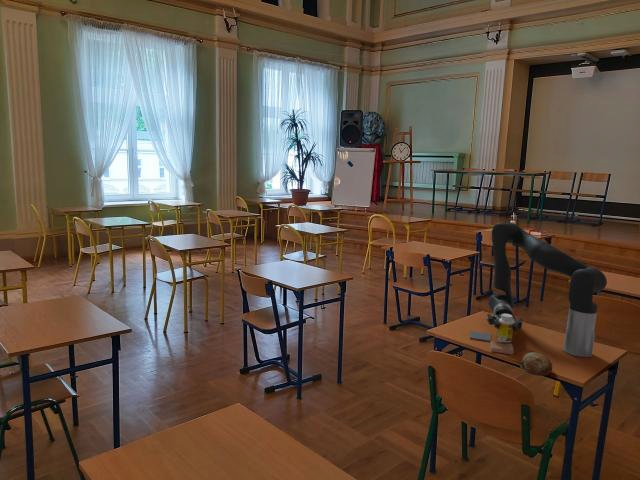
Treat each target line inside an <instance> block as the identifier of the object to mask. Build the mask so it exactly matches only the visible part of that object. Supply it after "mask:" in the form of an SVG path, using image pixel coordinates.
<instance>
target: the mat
mask: <svg viewBox="0 0 640 480" xmlns="http://www.w3.org/2000/svg"><path fill="white" fill-rule="evenodd" d="M469 339H470V340H474V341H475V340H476V341H482V342H487V343H490V341H492V337H491V333H487V332H481V331H480V332H479V331H471V330H470V331H469Z"/></svg>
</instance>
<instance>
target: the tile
mask: <svg viewBox="0 0 640 480" xmlns="http://www.w3.org/2000/svg"><path fill="white" fill-rule="evenodd" d="M489 346H490V347H489V348H490V352H492V353H498V354H499V353H500V354H507V355H514V351H515V350H514V347H513V346H514V345H513V343H508V342H502V341H494V340H493V341H492V340H491V341H490V342H489Z"/></svg>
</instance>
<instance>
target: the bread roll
mask: <svg viewBox="0 0 640 480" xmlns="http://www.w3.org/2000/svg"><path fill="white" fill-rule="evenodd" d="M520 369H521V370H523V371H524V372H527V373H528V374H531V375H532V376H538V377H539V376H540V377H542V376H549V375H550V374H551V373H552V371H553V363H552V361H551V360H550V359H549V357H547V356H546V355H544V354H543V353H539V352H533V351H532V352H527V353H525V355H524V356H523V357H522V359H521V362H520Z"/></svg>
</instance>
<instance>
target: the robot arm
mask: <svg viewBox="0 0 640 480" xmlns="http://www.w3.org/2000/svg"><path fill="white" fill-rule="evenodd" d="M491 242H492V243H491V244H492V251H493V261H494V278H493V288H494V289H496V290H499V291H501V292H504V294H491V295H490V296H489V298H488V306H489V309H490V310H491V311H492V312H493V315H492V314H489V313H487V314H486V321H487V323H488V325H490V326H492V325H494V328H496V330H498V329H499V319H500V318H501V316H502V314H510V315H512V316H513V317H512V320H513V321H514V326H513V332H516V331H518V330H521V329H522V327H523V323H524V318H519V319H517V318H516V317H515V315H514V311H513V309H514V306H515V303H514V298H513V294H512V287H511V286H512V284H511V283H512V269H511V266H510V263H509V260H508V256H507V253H506V247H507V244H512V245H515V246H516V247H518V248H520V249H522V250H523V251H524V252H525V254H526V255H527V257H528V258H530V260H531V261H533V262H534V263H536V264H538V266H540V267H542V268H544V269H546V270H549V271H552V272H555V273H559V274H563V275H565V276H568V277H570V280H569V287H568V288H569V289H568V301H569V302H568V303H569V309H568V315H567V316H568V317H567V323H566V329H565V336H564V343H563V352H565V353H566V354H568V355H571V356H573V357H579V358H592V356H593V352H594V343H595V338H596V333H595V327H596V326H595V325H596V320H597V314H598V307H599V306H598V305H597V303H596V302H594V301H593V296H594V293H598V292H601V291H603V290H604V289H605V288H606V286H607V284H608V283H607V282H608V281H607V277H606V275H605V274H604V273H603V271H601V270H600V269H598V268H597V267H594V266H592V265H588V264H586V263H584V262H581V261H580V260H578V259H576V258H574V257H572V256H570V255H569V254H567V253H565V252H564V251H562V250H560V249H559V248H557V247H555V246H553V245H551V244H549V243H548V242H546V241H544V240H542V239H540V238H538V237H536V236H535V235H532V234H531V233H529V232H527V231H526V230H525V229H523V228H522V227H521V226H519V225H518V224H517V223H513V222H497V223H495V224H494V225H493V226H492V230H491Z"/></svg>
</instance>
